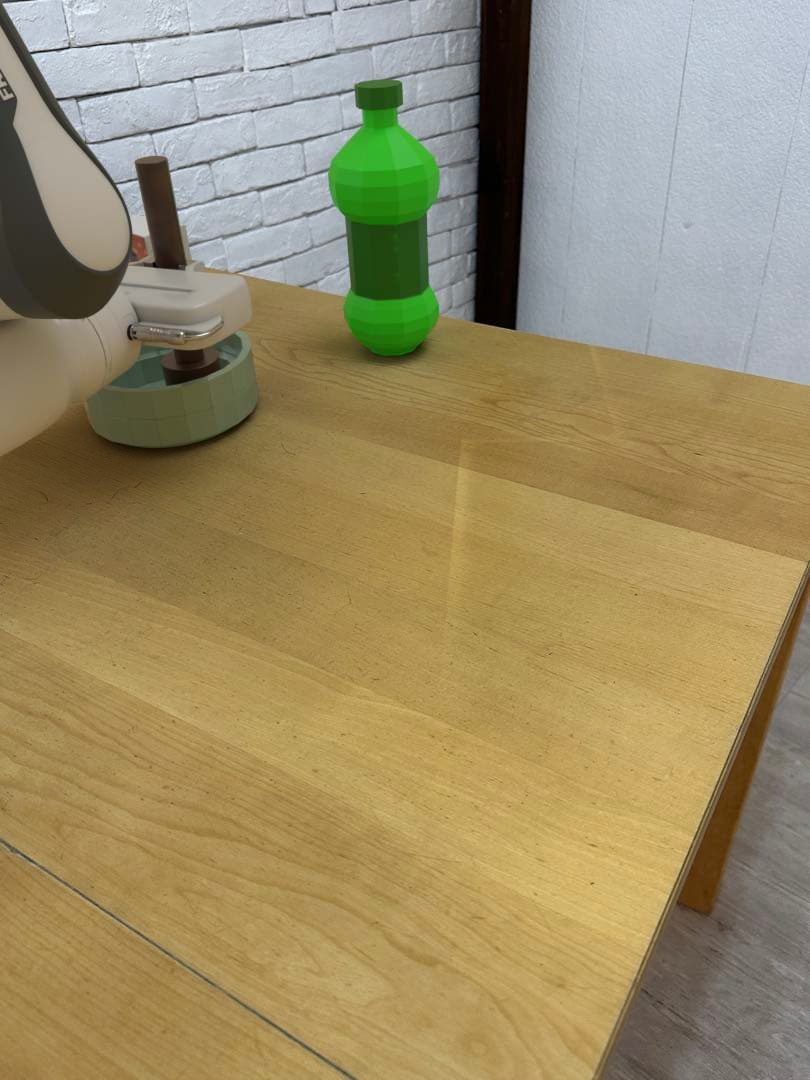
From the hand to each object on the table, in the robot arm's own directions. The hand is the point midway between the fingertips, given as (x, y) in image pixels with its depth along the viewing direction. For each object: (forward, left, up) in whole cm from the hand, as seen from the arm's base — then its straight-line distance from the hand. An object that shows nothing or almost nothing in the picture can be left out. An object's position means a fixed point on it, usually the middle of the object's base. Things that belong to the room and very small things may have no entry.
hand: (177, 267), depth 78 cm
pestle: (0, -1, -11) cm, 11 cm away
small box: (-11, +23, -14) cm, 29 cm away
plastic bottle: (+17, +14, -14) cm, 26 cm away
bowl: (-2, -1, -13) cm, 14 cm away
